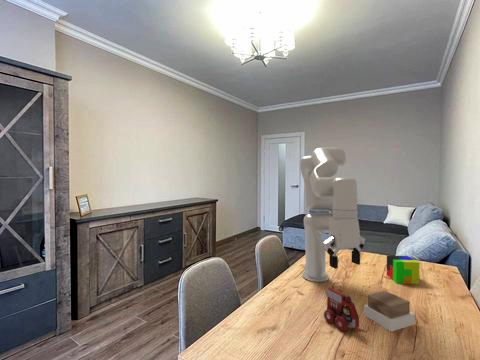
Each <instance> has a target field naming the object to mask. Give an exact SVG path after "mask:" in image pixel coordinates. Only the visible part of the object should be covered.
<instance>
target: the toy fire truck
mask: <svg viewBox="0 0 480 360" xmlns="http://www.w3.org/2000/svg"><path fill="white" fill-rule="evenodd" d="M326 296H327V301H326V310H325V311H324V312H323V317H324V319H325V321H326V322H327V323H328V322H329V324H333V323H335V326H336V328H337V329H338V330H339V331H340V332H344V331H346V330H348V328H349V327H350V328H351V329H358V328H359V327H360V316H359V313H358V311H357V308H356V305H355V303H354V302H352V301H353V300H352V297H351V296H349V295H345V294H344V293H342V292H340V291H337V290H336V289H334V288H332V287H328V288H327V289H326Z"/></svg>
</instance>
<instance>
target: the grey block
mask: <svg viewBox="0 0 480 360" xmlns="http://www.w3.org/2000/svg"><path fill="white" fill-rule="evenodd" d="M363 316H364V317H366V318H368V319H370V320H371V321H373V322H375V323H377V324H378V325H380V326H381V327H382V328H384V329H386V330H387V331H389V332H396V331H398V329H399V330H401V328H402V329H404V328H408V327H411V326H415V325H416V313H414V312H412V311H410V313H409V314H406V315H402V316H399V317H396V318H393V319H390V318H388V317H386V316H385V315H383V314H381V313H379V312H377V311H375V310H373V309H372V308H370V307H368V303H366V304H364V305H363ZM414 324H415V325H414Z"/></svg>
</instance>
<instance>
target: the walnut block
mask: <svg viewBox="0 0 480 360" xmlns="http://www.w3.org/2000/svg"><path fill="white" fill-rule="evenodd" d="M367 304H368V307H370V308H372V309H373V310H375V311H377V312H379V313H381V314H383V315H385V316H386V317H388V318H390V319H393V318H396V317H399V316H402V315H406V314H409V313H410V312H411V311H410V309H411V307H410V305H411V304H410V301H409V300H407V299H405V298H402V297H400V296H398V295H396V294H393V293H391V292H390V291H389V292H388V291H386V290H384V291H380V292H376V293H372V294H371V293H370V294H368V295H367Z"/></svg>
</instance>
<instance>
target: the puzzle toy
mask: <svg viewBox="0 0 480 360" xmlns="http://www.w3.org/2000/svg"><path fill="white" fill-rule="evenodd" d="M386 276H387V277H388V278H389V279H391V281H393V282H394V283H396V284H413V285H420V262H419V261H418V260H416V259H414V258H412V257H411V256H408V255H386Z"/></svg>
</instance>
